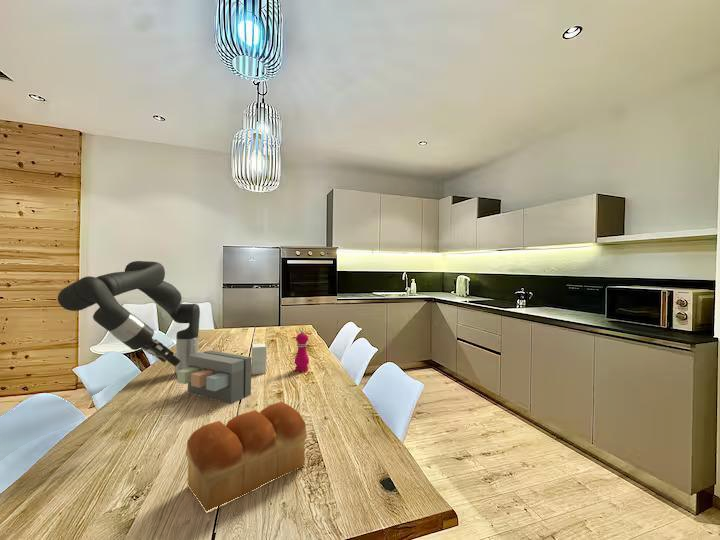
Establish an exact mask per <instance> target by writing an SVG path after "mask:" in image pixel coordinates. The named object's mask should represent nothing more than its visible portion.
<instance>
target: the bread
mask: <svg viewBox="0 0 720 540" xmlns="http://www.w3.org/2000/svg"><path fill="white" fill-rule="evenodd" d="M307 434H308V433H307V427H306V422H305V420H304V419H303V416H302V414H300V412H299V411H297V409H294V407H292V406H291V405H289V404H287V403H285V402H283V401H279V402H276V403H273V404H269V405H267V406H266V407H265V408H263V409H262V410H260V412H259V411H258V410H256V409H254V410H252V411H247V412H245V413H240V414H238V415H235V416H234V417H233V418H231V419H229V420H228V421H227V423H226V425H225V424H224V423H223V422H221V420H218V421H214V422H211V423H208V424H204V425H202V426H201V427H199V428H197V429H196V430H195V431H193V433H192V434H191V435H190V437H188V439H187V442H186V443H187V444H186V450H185V456H186V457H187V459H188V461H187V465H188V466H187V486H188V485H189V487H190V488H191V490H192V491H193V493H194V494H195V495H196V497H197V498H198V500H199V501H200V502H201V504H202V505H203V507H204V508H205V510H206V511H208V510H210V509H212V508H214V507H217V506H220V505H222V504H224V503H226V502H229V501H231V500H233V499H235V498H237V497H240V496H242V495H244V494H246V493H248V492H250V491H252V490H254V489H256V488H258V487H260V486H261V485H263V484H265V483H267V482H269V481H271V480H273V479H276V478H278V477H280V476H282V475H284V474H286V473H289V472H291V471H293V470H295V469H297V468H299V467H301V466H303V465H304V466H305V464H306V462H305V461H306V460H305V459H306V455H305V454H306V453H305V452H306V451H305V449H306V445H305V444H306V443H305V442H306V439H307V438H308V435H307ZM304 466H303V467H304ZM301 468H302V467H301ZM299 469H300V468H299ZM297 470H298V469H297ZM295 471H296V470H295ZM293 472H294V471H293ZM291 473H292V472H291ZM289 474H290V473H289ZM189 487H188V488H189ZM191 490H190V491H191ZM193 493H192V494H193Z"/></svg>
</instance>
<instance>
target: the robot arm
mask: <svg viewBox="0 0 720 540" xmlns="http://www.w3.org/2000/svg"><path fill="white" fill-rule="evenodd" d="M165 275H166V271H165V267H164V266H163V265H162V264H161V263H160V262H156V261H146V260H145V261H143V260H135V261H131V262H128V263H127V265H126V266H125V268H124V271H116V272H111V273H105V274H103V275H98V276H90V275H89V276H88V275H87V276H84V277H82V278H79V279H78V280H76V281H75V282H73V283H71V284H69V285H67V286H65V287H64V288H62V289H61V290H60V291H59V292H58V295H57V302H58V305H59V306H60V307H61V308H63V309H65V310H67V311H70V312H71V311H72V312H79V311H83V310H85V309H87V308H89V307H92V306H93V305H96V304H97V305H98V307H99V308H97V309H96V310H95V311H94V313H93V316H92V319H93V321H94V322H95V323H97V324H98V325H99V326H101V327H102V328H103V329H105V330H107V331H108V332H109V333H110V334H111V335H112V336H113V337H114V338H116V339H117V340H118V341H120V342H121V343H123V344H124V345H125V346H127V347H128V348H130V349H131V350H134V351H136V350H140V349H141V350H142V351H144V352H146V354H149V355H151V356H153V357H156V358H157V359H158V360H160V361H161V362H163V363H165V362H166V361H167V363H170V364H171V365H172V366H174V374H175V373H176V374H175V376H177V371H178V370H182V369H185V368H188V356H189V355H193V354H196V353H199V330H200V315H201V309H200V306H199V304H196V303H182V294H181V292H180V291H179V290H178V289H177V288H176V287H175V286H174V285H173V284H171V283H170V282H167V281H164V280H165V277H166V276H165ZM134 290H139V291H140V292H143V294H145V295H146V296H147V297H148V298H150V299H151V300H152V301H154V302H155V303H156V304H157V305H158V306H159V307H160V308H162V309H163V310H164V311H165V312H166V314H168V316H170V318H171V319H172V320H173V321H174V322H175V323H177V324H188V327H187V328H185V329H181V330H179V331H177V332H176V337H175V338H176V339H175V340H176V348H175V349H176V351H175V353H174V351H172V350H170V349H169V348H168V347H167V346H165V345H164V344H163V342H160V340H158V339H156V338H155V339H154V338H153V336H154V335H155V331H154V329H153V328H152V327H150V325H148V324H146V323H145V322H144V321H143V320H142V319H140V318H139V317H137V316H136V315H135V314H133V313H132V312H130V311H129V310H127V309H126V308H125V306H123V305H121V304H120V303H119V302H118V300H117V299H116V298H115V297H117V296H119V295H122V294H124V293H128V292H132V291H134ZM166 353H167V354H166Z"/></svg>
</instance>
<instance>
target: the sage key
mask: <svg viewBox="0 0 720 540" xmlns="http://www.w3.org/2000/svg"><path fill="white" fill-rule="evenodd" d="M199 371H200V367H196V366H192V367H189V368H185V369H182V370H178V371H177V375H176V383H177V384H178V383H179V384H182V385H186V384H187V385H188V383H190V382H191V374H193V373H196V372H199Z"/></svg>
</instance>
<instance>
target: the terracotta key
mask: <svg viewBox="0 0 720 540" xmlns="http://www.w3.org/2000/svg"><path fill="white" fill-rule="evenodd" d="M211 375H214V370H211V369H206V370H202V371H199V372H196V373H193V374H191V386H195V387H199V388H200V387H202V386H205V385H206V377H208V376H211Z"/></svg>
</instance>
